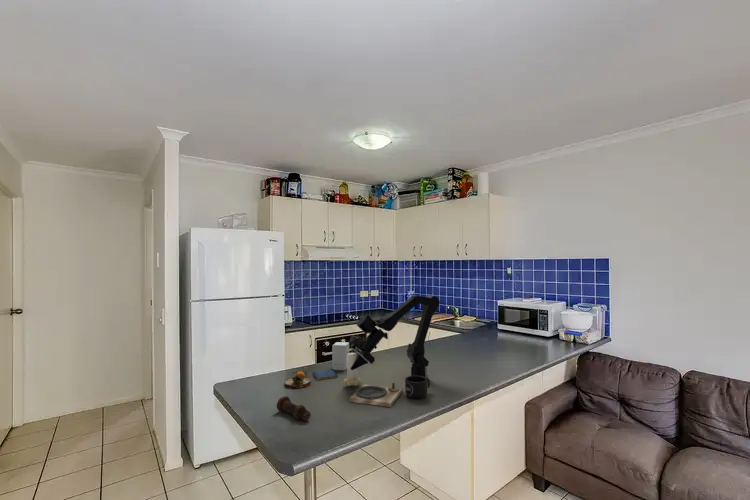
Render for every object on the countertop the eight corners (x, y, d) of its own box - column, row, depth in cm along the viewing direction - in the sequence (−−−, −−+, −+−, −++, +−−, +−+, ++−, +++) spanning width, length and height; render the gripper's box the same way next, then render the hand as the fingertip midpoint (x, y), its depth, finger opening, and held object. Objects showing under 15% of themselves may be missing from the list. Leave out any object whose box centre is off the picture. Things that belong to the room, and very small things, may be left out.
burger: (297, 378, 172) (297, 363, 172) (316, 382, 166) (316, 366, 166) (279, 386, 162) (278, 369, 162) (298, 391, 156) (298, 373, 156)
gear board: (402, 392, 152) (401, 382, 152) (390, 407, 137) (390, 395, 137) (364, 387, 158) (364, 377, 158) (349, 401, 143) (349, 390, 143)
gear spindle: (364, 380, 162) (363, 352, 162) (357, 386, 154) (356, 357, 155) (348, 378, 164) (347, 351, 165) (340, 384, 157) (340, 355, 157)
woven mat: (311, 375, 178) (311, 370, 178) (332, 372, 182) (332, 368, 182) (315, 381, 168) (315, 377, 168) (338, 378, 172) (338, 374, 172)
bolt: (305, 428, 125) (280, 414, 135) (315, 416, 128) (290, 404, 138) (298, 416, 123) (274, 403, 133) (309, 404, 126) (284, 393, 136)
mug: (415, 402, 141) (415, 384, 141) (400, 395, 149) (400, 378, 149) (437, 395, 148) (437, 377, 148) (422, 389, 156) (421, 372, 156)
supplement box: (345, 370, 183) (345, 345, 183) (331, 369, 184) (331, 345, 185) (349, 366, 190) (349, 342, 190) (336, 365, 192) (336, 341, 192)
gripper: (354, 325, 170) (331, 351, 166) (367, 332, 153) (342, 362, 148) (370, 340, 173) (348, 366, 169) (384, 349, 155) (360, 378, 151)
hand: (349, 367), depth 159 cm, fingers closed on gear spindle, 5 cm apart
